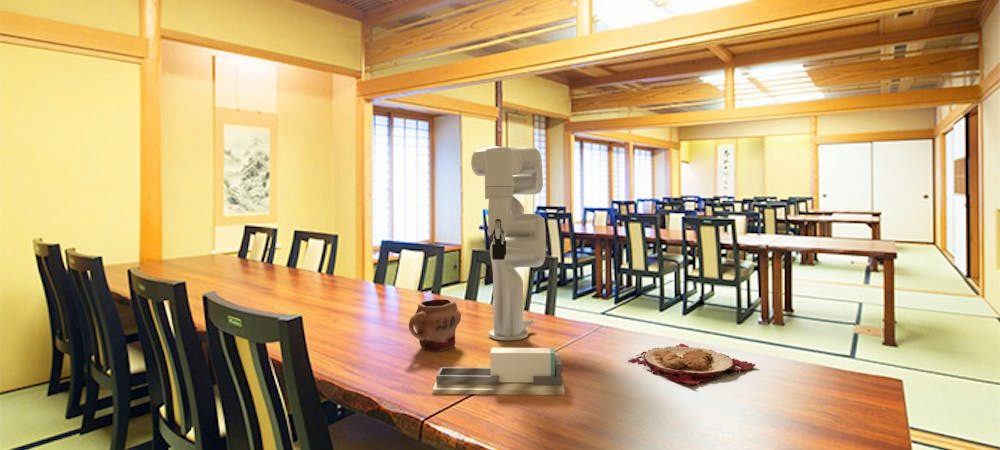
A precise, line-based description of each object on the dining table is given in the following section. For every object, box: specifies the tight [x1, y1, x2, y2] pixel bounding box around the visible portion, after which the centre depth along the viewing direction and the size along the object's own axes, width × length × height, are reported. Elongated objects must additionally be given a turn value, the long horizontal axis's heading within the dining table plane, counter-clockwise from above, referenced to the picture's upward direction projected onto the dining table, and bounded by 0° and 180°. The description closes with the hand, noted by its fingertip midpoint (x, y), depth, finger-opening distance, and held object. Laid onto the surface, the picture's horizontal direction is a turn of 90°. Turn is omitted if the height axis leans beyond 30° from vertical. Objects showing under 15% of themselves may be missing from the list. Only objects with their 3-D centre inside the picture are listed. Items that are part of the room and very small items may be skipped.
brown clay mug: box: [408, 298, 462, 352], centre depth 149 cm, size 20×12×14 cm, turn 150°
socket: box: [533, 355, 563, 386], centre depth 120 cm, size 6×6×5 cm
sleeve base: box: [432, 366, 566, 396], centre depth 121 cm, size 30×12×3 cm, turn 87°
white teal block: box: [489, 347, 556, 383], centre depth 120 cm, size 15×4×7 cm, turn 87°
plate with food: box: [627, 343, 757, 386], centre depth 134 cm, size 24×26×4 cm
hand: (499, 257), depth 137 cm, fingers open, 9 cm apart
